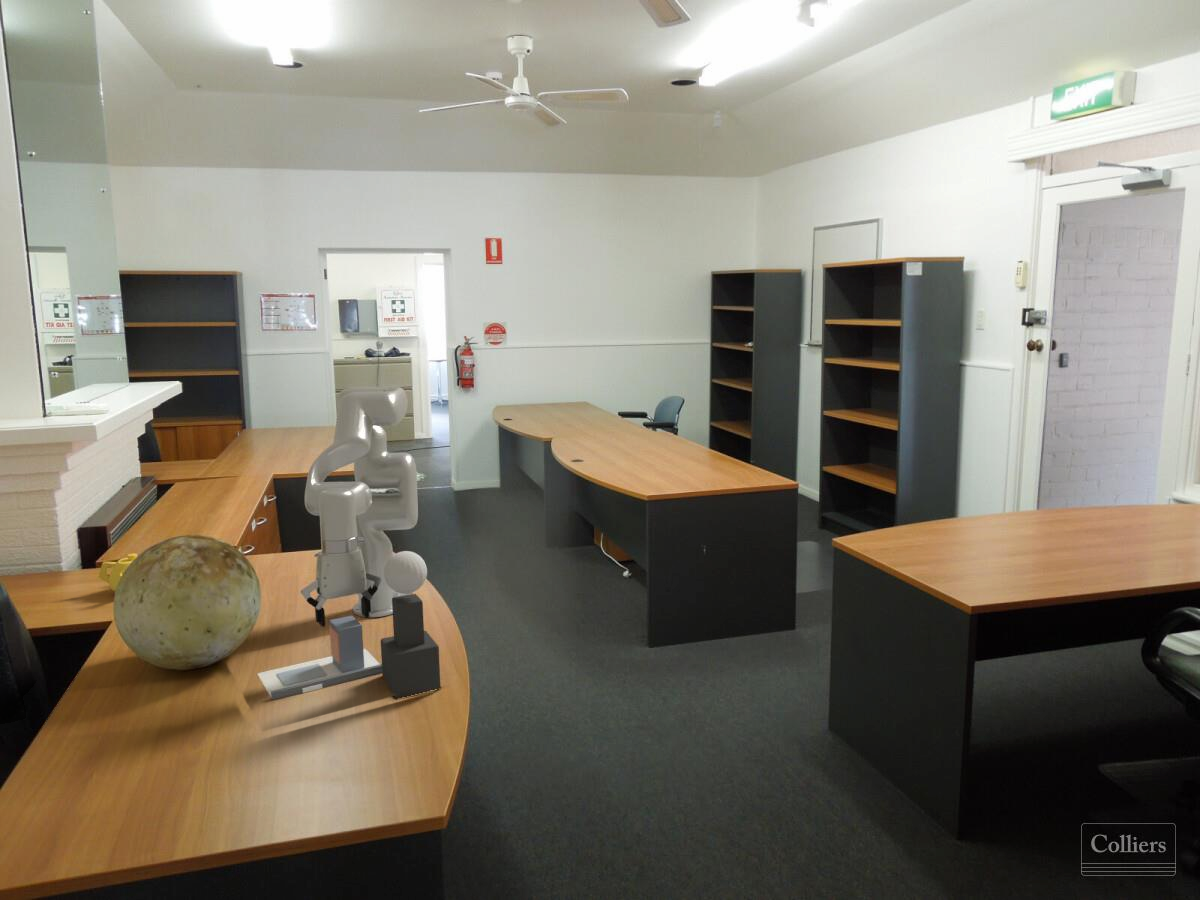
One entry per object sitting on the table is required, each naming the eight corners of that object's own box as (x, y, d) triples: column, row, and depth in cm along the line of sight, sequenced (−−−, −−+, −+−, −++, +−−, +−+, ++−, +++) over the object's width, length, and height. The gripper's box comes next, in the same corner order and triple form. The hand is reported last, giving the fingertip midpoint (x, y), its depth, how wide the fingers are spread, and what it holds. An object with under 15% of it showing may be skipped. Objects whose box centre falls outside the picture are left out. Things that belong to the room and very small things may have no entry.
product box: (354, 656, 192) (352, 615, 190) (364, 667, 186) (361, 625, 185) (331, 662, 189) (328, 620, 188) (340, 673, 184) (337, 630, 182)
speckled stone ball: (275, 633, 210) (266, 517, 205) (253, 685, 182) (241, 552, 176) (145, 644, 204) (132, 524, 199) (100, 700, 175) (84, 562, 170)
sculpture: (393, 701, 174) (386, 562, 169) (382, 681, 183) (374, 549, 178) (441, 690, 179) (435, 554, 173) (427, 672, 187) (421, 542, 182)
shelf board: (365, 654, 197) (364, 642, 197) (387, 678, 185) (386, 665, 184) (257, 679, 184) (256, 667, 184) (273, 707, 172) (272, 693, 171)
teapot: (160, 600, 235) (156, 562, 233) (89, 606, 230) (84, 567, 228) (177, 578, 254) (174, 542, 252) (112, 583, 249) (108, 547, 247)
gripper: (373, 535, 191) (376, 608, 193) (294, 547, 181) (299, 623, 184) (384, 542, 184) (387, 617, 187) (303, 555, 175) (308, 633, 178)
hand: (344, 620), depth 185 cm, fingers open, 9 cm apart
